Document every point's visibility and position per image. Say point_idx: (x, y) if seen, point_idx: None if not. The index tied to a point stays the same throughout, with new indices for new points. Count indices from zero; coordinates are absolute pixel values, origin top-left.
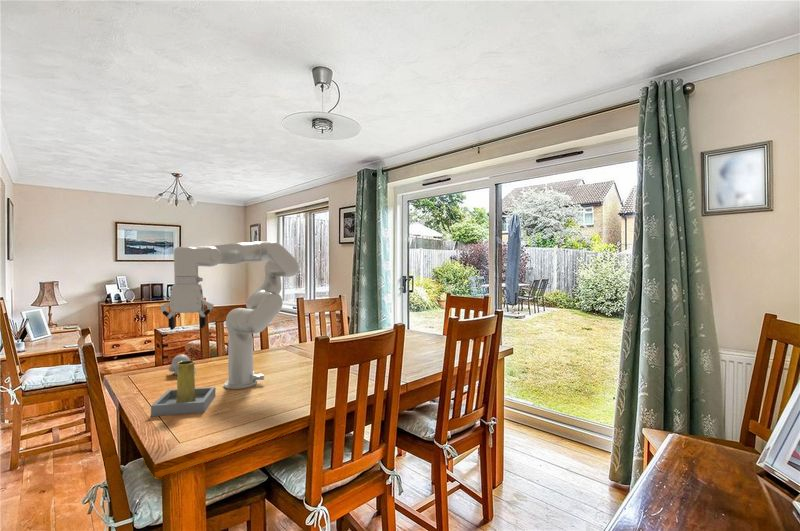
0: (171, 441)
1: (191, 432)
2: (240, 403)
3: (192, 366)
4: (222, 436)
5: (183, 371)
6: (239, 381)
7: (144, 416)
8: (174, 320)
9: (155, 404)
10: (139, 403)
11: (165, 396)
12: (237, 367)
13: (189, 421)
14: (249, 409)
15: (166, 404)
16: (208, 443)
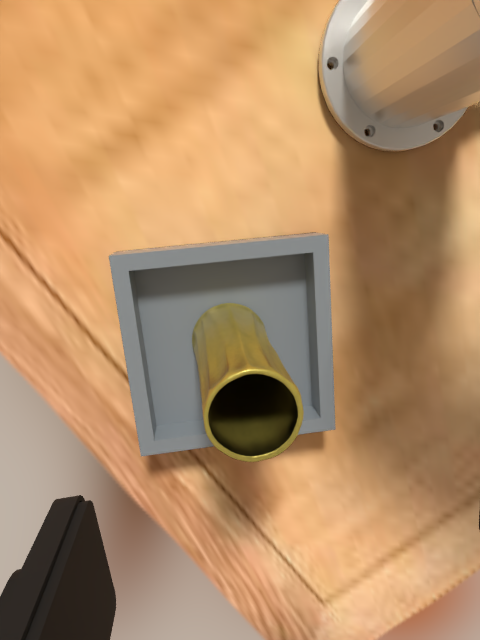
0: (298, 597)
1: (332, 550)
2: (434, 331)
3: (294, 414)
4: (423, 573)
5: (251, 437)
6: (418, 123)
7: (120, 432)
8: (57, 636)
9: (151, 442)
10: (10, 294)
11: (139, 342)
12: (454, 105)
13: (299, 479)
14: (472, 392)
15: (197, 446)
16: (396, 607)
